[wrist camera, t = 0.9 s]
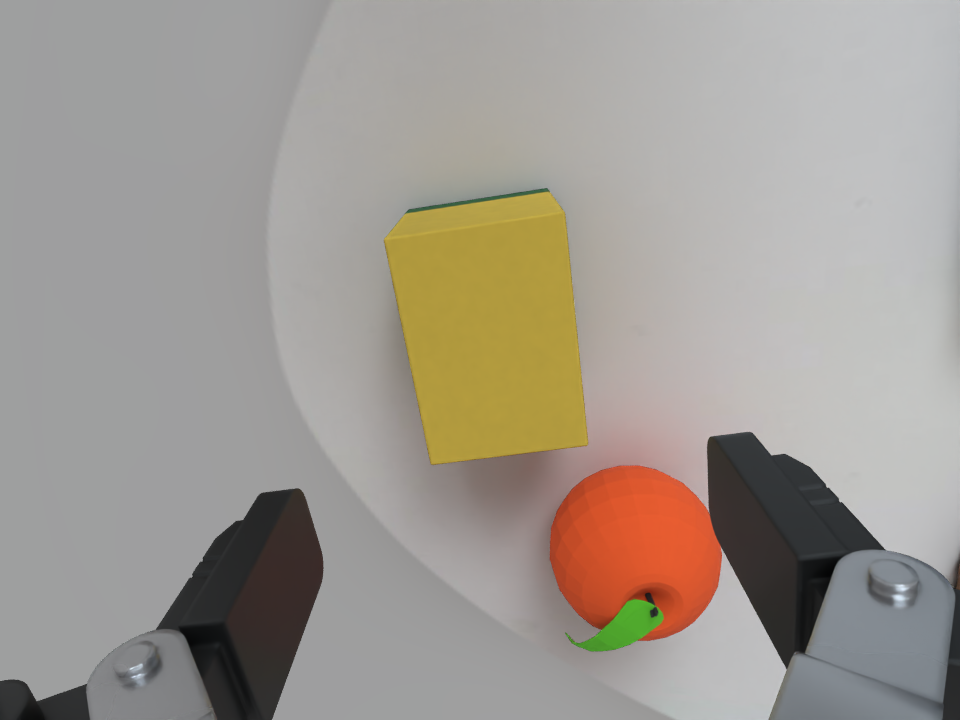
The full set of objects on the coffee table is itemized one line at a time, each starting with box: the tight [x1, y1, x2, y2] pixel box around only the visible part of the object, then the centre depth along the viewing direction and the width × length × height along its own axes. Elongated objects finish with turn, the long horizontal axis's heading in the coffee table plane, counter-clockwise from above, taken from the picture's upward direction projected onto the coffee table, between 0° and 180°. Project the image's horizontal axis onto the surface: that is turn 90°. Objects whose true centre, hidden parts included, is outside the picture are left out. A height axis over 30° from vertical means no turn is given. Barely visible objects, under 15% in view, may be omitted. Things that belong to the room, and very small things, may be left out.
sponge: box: [384, 188, 588, 465], centre depth 23 cm, size 8×6×6 cm
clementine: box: [550, 466, 722, 651], centre depth 26 cm, size 8×7×7 cm
